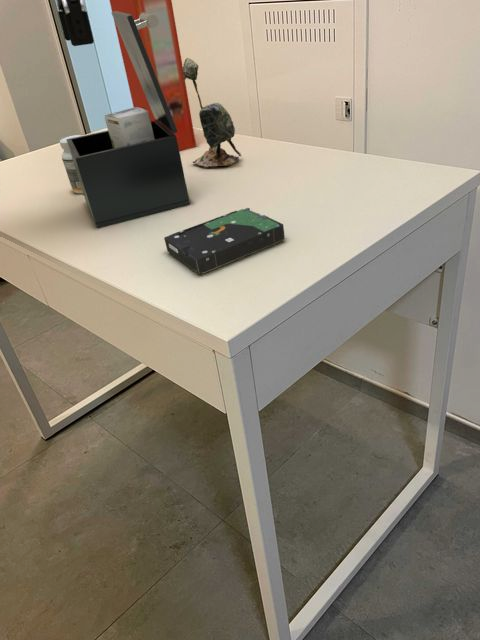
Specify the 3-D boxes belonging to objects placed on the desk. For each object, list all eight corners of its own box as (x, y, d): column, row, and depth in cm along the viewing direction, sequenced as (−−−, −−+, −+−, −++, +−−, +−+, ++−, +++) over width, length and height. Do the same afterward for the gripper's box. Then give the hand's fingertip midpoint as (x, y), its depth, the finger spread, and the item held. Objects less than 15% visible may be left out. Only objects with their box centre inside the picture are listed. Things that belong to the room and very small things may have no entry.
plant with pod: (221, 174, 108) (203, 62, 96) (188, 164, 115) (168, 59, 103) (252, 162, 112) (238, 52, 100) (218, 153, 119) (202, 50, 107)
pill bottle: (87, 182, 113) (72, 133, 107) (107, 185, 111) (93, 134, 105) (67, 193, 109) (50, 142, 104) (87, 195, 107) (71, 143, 101)
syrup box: (153, 187, 104) (132, 106, 96) (168, 192, 100) (147, 108, 92) (126, 197, 101) (102, 114, 93) (141, 203, 97) (117, 116, 89)
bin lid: (126, 16, 79) (158, 3, 79) (111, 12, 89) (138, 0, 90) (173, 133, 90) (200, 121, 90) (154, 118, 100) (179, 107, 101)
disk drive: (200, 278, 75) (286, 240, 81) (196, 260, 73) (284, 222, 79) (166, 254, 82) (248, 221, 88) (162, 237, 80) (245, 204, 86)
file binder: (171, 132, 138) (140, -20, 119) (197, 146, 126) (167, -21, 107) (140, 139, 136) (104, -15, 117) (164, 154, 123) (128, -15, 104)
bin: (97, 228, 93) (75, 158, 86) (86, 203, 103) (66, 139, 96) (190, 204, 97) (176, 135, 90) (170, 182, 107) (157, 119, 100)
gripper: (12, -93, 80) (49, 40, 90) (16, -108, 67) (59, 51, 77) (65, -97, 82) (95, 34, 92) (79, -112, 68) (112, 43, 78)
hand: (79, 41), depth 84 cm, fingers open, 9 cm apart
